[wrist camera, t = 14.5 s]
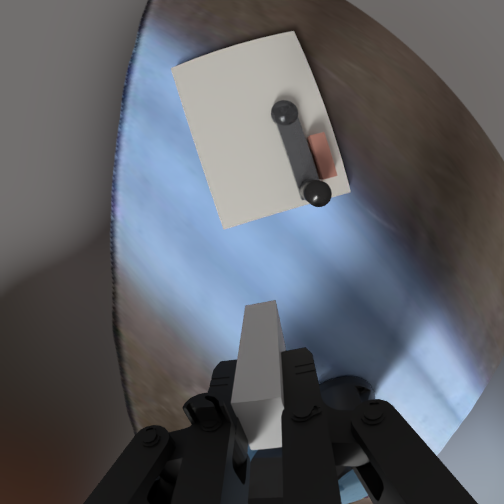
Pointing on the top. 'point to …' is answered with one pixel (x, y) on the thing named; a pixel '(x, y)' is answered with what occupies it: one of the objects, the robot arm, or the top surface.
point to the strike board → (255, 125)
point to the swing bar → (299, 154)
